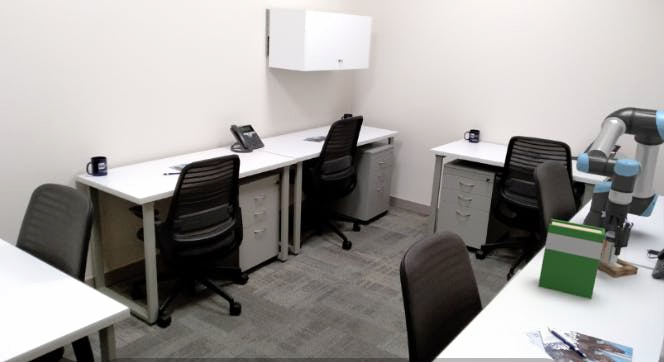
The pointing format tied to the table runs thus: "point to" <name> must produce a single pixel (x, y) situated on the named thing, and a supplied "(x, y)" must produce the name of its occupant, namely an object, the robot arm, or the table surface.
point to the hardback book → (571, 258)
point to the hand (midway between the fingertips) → (607, 259)
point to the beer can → (607, 247)
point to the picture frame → (618, 268)
